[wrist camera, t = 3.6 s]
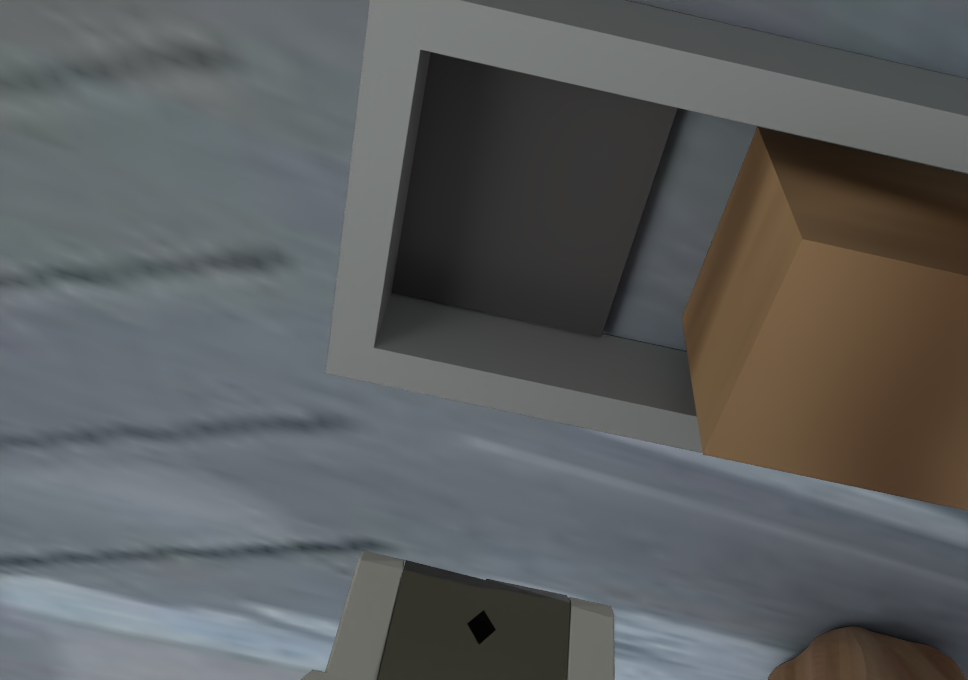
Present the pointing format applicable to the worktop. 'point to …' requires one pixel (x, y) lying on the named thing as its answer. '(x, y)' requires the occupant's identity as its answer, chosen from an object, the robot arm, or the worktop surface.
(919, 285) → the walnut block
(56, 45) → the worktop surface
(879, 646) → the cupcake
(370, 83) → the channel
